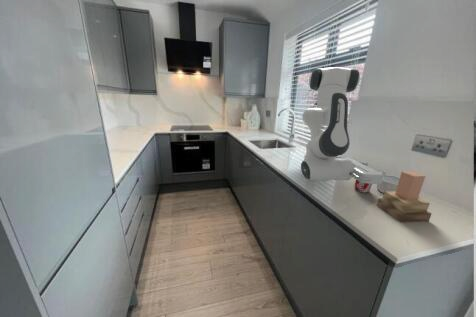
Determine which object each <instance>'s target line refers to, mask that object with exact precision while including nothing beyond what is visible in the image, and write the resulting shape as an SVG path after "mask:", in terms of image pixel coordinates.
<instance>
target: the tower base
mask: <svg viewBox="0 0 476 317" xmlns="http://www.w3.org/2000/svg"><path fill="white" fill-rule="evenodd" d="M382 199H383V197H381V198H378V199H377V204H376V206H377V207H378V208H379V209H381V210H382V211H384V212H385V213H387V215H389V216H391V217H392V218H393V219H395V220H397V221H398V222H399V223H415V222H416V223H419V222H426V223H427V222H430V220H431V217H432V213H431V212H430V211H428V210H427V212H413V213H403V212H401V211H400V210H398V209H396V208H395V207H393V206H391V205H390V204H388V203H387V202H385V201H383V200H382Z"/></svg>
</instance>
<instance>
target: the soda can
mask: <svg viewBox="0 0 476 317" xmlns="http://www.w3.org/2000/svg"><path fill="white" fill-rule="evenodd" d="M370 168H371V169H373V168H372V167H370ZM373 170H375V169H373ZM372 185H373V184H368V183H362V182H360V181H358V180H356V179H355V182H354V189H355V190H356V191H357V192H360V193H368V192H370V191H371V188H372Z"/></svg>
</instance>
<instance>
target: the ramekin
mask: <svg viewBox="0 0 476 317" xmlns="http://www.w3.org/2000/svg"><path fill="white" fill-rule="evenodd" d="M399 179H400V176H396V175H392V174H386V175H385V176H383V180H382V182H381V183H380V184H376V189H377V190H378V191H379V192H380V193H382V194H384V192H385V191H396V189H397V186H398V183H399Z"/></svg>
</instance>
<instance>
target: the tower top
mask: <svg viewBox="0 0 476 317" xmlns="http://www.w3.org/2000/svg"><path fill="white" fill-rule="evenodd" d="M395 193H396V191H385V192H384V193H383V196H382V198H383V199H382V200H383V201H385V202H387V203H388V204H390V205H391V206H393V207H395V208H396V209H398V210H400V211H401V212H403V213H413V212H427V211H428V209H429V206H430V204H431V202H428V201H427V200H425V199H423V198H421V197H420V196H419V197H418V199H415V200H406V199H404V198H402V197H400V196H398V195H396V194H395Z"/></svg>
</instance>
